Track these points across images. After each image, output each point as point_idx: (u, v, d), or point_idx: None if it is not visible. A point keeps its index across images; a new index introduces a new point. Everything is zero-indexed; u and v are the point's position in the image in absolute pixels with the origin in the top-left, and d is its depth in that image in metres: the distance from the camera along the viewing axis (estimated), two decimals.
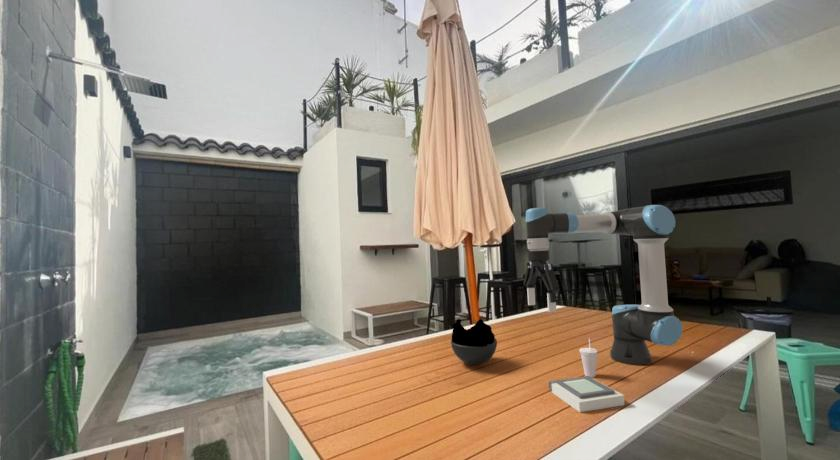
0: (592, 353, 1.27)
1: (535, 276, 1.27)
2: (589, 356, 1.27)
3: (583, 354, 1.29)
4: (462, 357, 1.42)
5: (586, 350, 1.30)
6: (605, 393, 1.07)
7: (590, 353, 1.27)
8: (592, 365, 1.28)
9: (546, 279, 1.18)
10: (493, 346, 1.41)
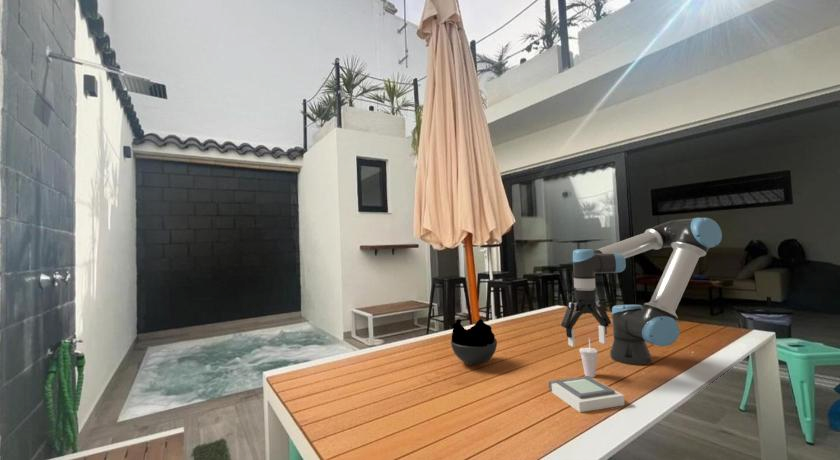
0: (592, 353, 1.27)
1: (594, 314, 1.31)
2: (589, 356, 1.27)
3: (583, 354, 1.29)
4: (462, 357, 1.42)
5: (586, 350, 1.30)
6: (605, 393, 1.07)
7: (590, 353, 1.27)
8: (592, 365, 1.28)
9: (572, 316, 1.30)
10: (493, 346, 1.41)
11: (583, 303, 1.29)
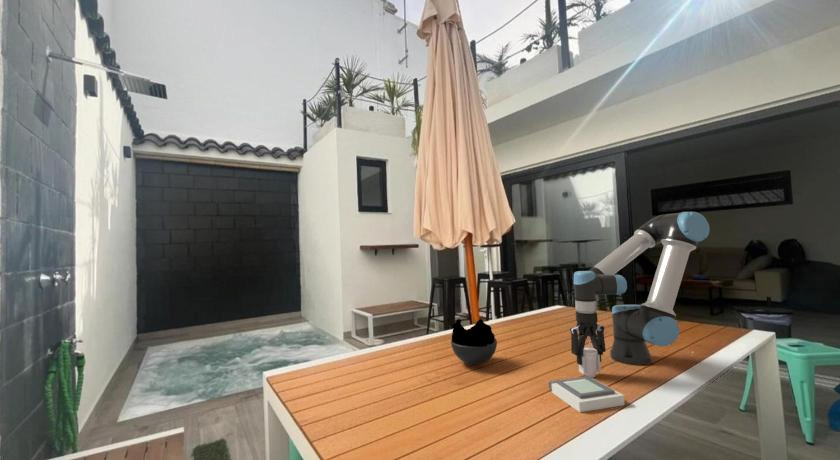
0: (592, 353, 1.27)
1: (592, 338, 1.30)
2: (589, 356, 1.27)
3: (583, 354, 1.29)
4: (462, 357, 1.42)
5: (586, 350, 1.30)
6: (605, 393, 1.07)
7: (590, 353, 1.27)
8: (592, 365, 1.28)
9: (579, 341, 1.30)
10: (493, 346, 1.41)
11: (584, 324, 1.29)
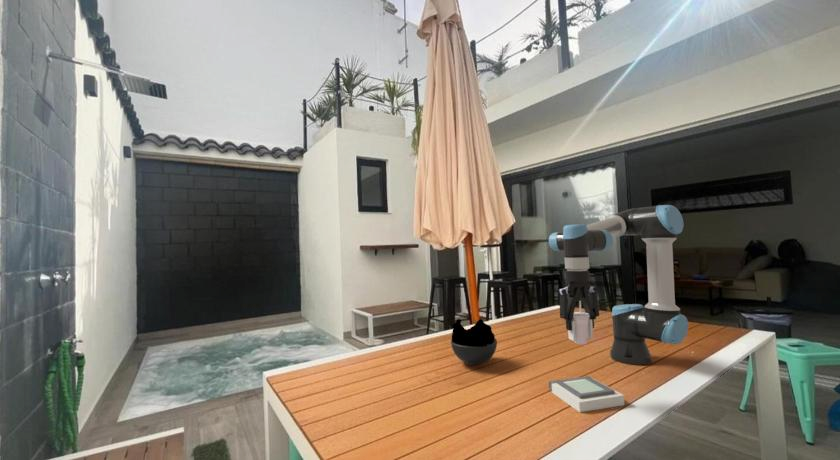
0: (583, 316, 1.11)
1: (584, 301, 1.14)
2: (579, 320, 1.11)
3: (573, 318, 1.12)
4: (462, 357, 1.42)
5: (576, 314, 1.13)
6: (605, 393, 1.07)
7: (581, 316, 1.11)
8: (583, 330, 1.11)
9: (568, 304, 1.14)
10: (493, 346, 1.41)
11: (574, 284, 1.13)
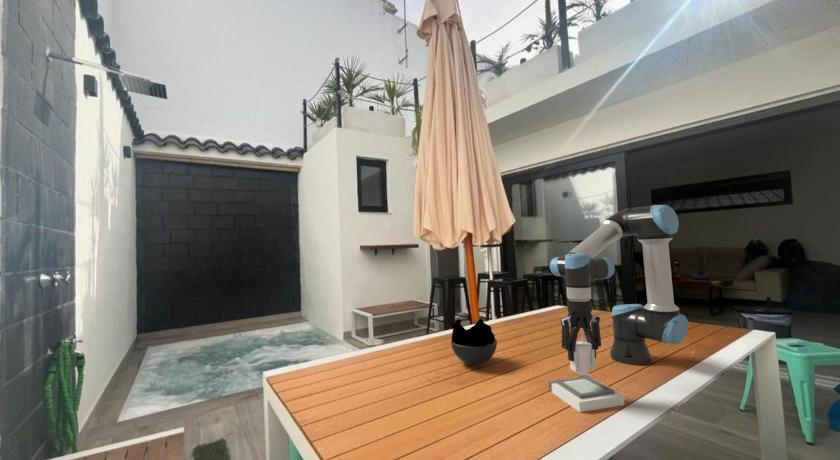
0: (585, 347, 1.10)
1: (586, 331, 1.13)
2: (582, 351, 1.10)
3: (575, 349, 1.12)
4: (462, 357, 1.42)
5: (578, 344, 1.12)
6: (605, 393, 1.07)
7: (583, 347, 1.10)
8: (586, 361, 1.10)
9: (570, 334, 1.13)
10: (493, 346, 1.41)
11: (576, 314, 1.12)
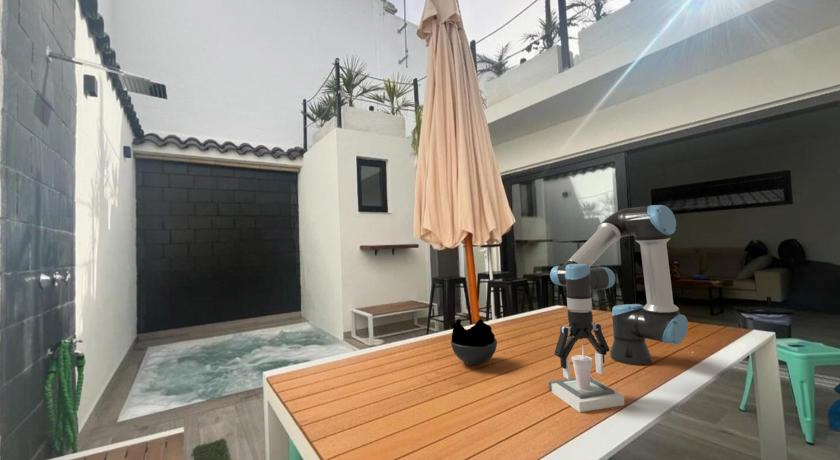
0: (586, 362, 1.10)
1: (590, 340, 1.13)
2: (582, 365, 1.10)
3: (575, 363, 1.12)
4: (462, 357, 1.42)
5: (579, 358, 1.12)
6: (605, 393, 1.07)
7: (583, 362, 1.10)
8: (586, 376, 1.10)
9: (567, 342, 1.12)
10: (493, 346, 1.41)
11: (578, 327, 1.12)
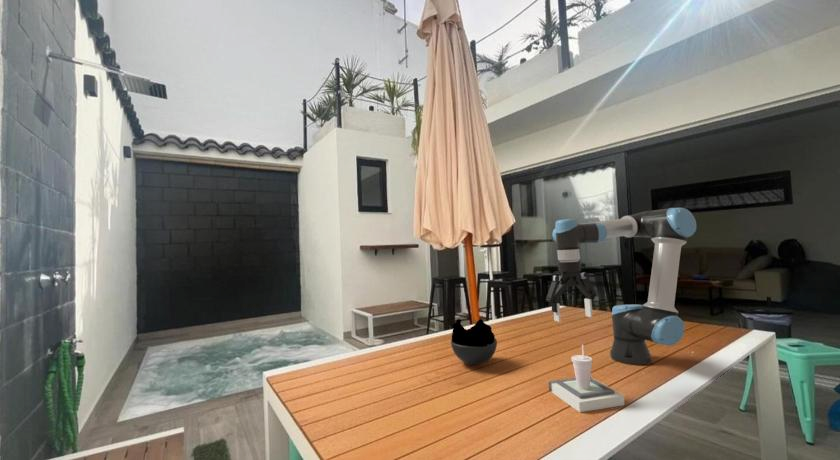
0: (586, 362, 1.10)
1: (579, 287, 1.25)
2: (582, 365, 1.10)
3: (575, 363, 1.12)
4: (462, 357, 1.42)
5: (579, 358, 1.12)
6: (605, 393, 1.07)
7: (583, 362, 1.10)
8: (586, 376, 1.10)
9: (557, 290, 1.23)
10: (493, 346, 1.41)
11: (568, 276, 1.23)
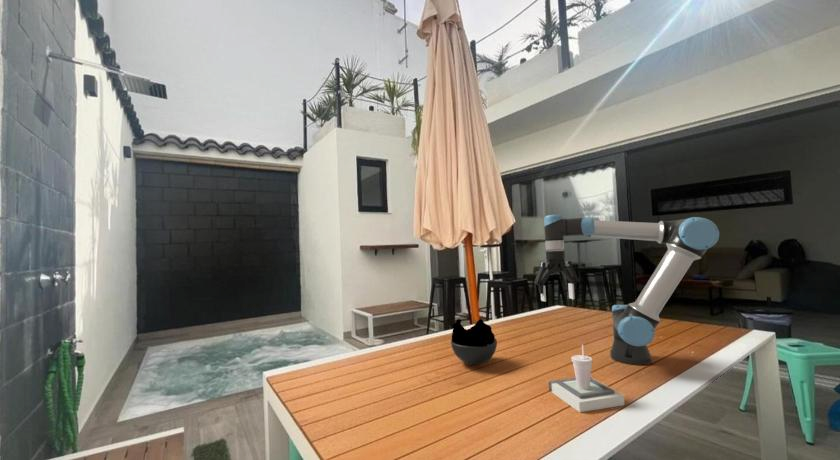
0: (585, 362, 1.10)
1: (564, 273, 1.46)
2: (582, 365, 1.10)
3: (575, 363, 1.12)
4: (462, 357, 1.42)
5: (579, 358, 1.12)
6: (605, 393, 1.07)
7: (583, 362, 1.10)
8: (586, 376, 1.10)
9: (544, 274, 1.45)
10: (493, 346, 1.41)
11: (553, 263, 1.44)
